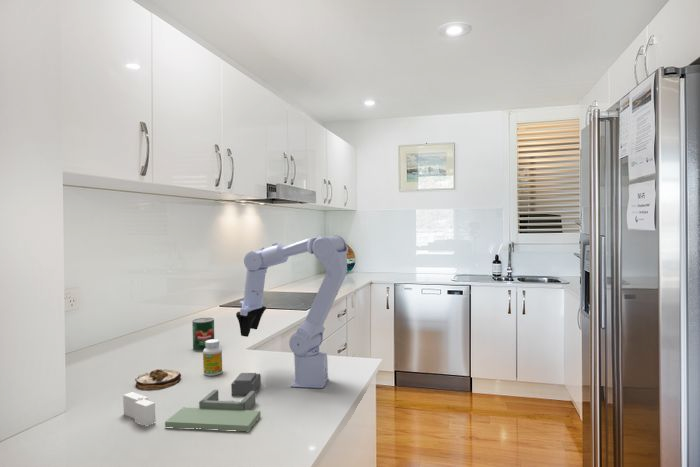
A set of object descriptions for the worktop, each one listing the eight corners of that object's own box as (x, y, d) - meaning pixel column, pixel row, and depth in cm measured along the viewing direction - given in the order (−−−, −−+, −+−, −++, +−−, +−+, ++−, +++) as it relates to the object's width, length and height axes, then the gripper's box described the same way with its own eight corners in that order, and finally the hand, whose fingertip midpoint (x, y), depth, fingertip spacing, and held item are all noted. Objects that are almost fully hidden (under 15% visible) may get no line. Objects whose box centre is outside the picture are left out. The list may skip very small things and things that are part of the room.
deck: (271, 403, 115) (271, 391, 115) (248, 432, 99) (247, 419, 99) (199, 400, 118) (198, 389, 118) (165, 428, 102) (164, 415, 102)
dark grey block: (260, 385, 128) (260, 371, 128) (253, 396, 120) (252, 381, 120) (240, 385, 129) (239, 371, 129) (231, 396, 121) (231, 381, 121)
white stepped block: (117, 412, 112) (116, 390, 112) (165, 406, 116) (165, 384, 116) (105, 440, 98) (104, 414, 98) (160, 431, 102) (160, 406, 101)
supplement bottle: (203, 377, 136) (202, 344, 136) (204, 371, 142) (203, 339, 141) (222, 374, 138) (221, 342, 137) (222, 369, 143) (221, 337, 143)
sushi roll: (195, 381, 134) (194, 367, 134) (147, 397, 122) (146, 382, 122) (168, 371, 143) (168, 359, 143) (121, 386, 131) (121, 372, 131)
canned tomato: (201, 352, 162) (200, 323, 162) (188, 349, 167) (187, 320, 167) (219, 347, 168) (218, 319, 168) (206, 344, 173) (206, 316, 173)
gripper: (250, 283, 144) (245, 323, 145) (232, 292, 129) (227, 337, 131) (271, 286, 143) (266, 327, 144) (255, 296, 128) (250, 341, 130)
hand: (249, 332), depth 137 cm, fingers open, 7 cm apart
